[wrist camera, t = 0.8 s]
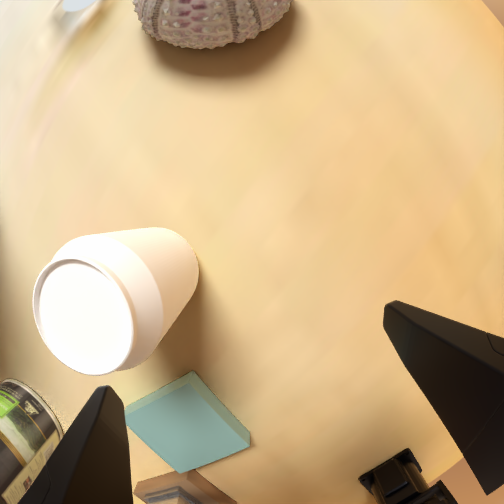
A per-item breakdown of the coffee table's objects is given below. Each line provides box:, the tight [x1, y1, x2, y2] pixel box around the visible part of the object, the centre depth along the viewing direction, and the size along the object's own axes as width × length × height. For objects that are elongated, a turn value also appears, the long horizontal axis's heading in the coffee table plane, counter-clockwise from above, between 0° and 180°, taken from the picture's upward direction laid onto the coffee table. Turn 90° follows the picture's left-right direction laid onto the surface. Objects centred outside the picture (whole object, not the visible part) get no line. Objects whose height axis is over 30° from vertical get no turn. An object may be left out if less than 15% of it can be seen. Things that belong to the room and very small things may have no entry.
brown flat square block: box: [133, 469, 237, 504], centre depth 24 cm, size 8×8×2 cm
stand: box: [124, 371, 250, 474], centre depth 22 cm, size 8×8×2 cm
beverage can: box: [33, 228, 199, 376], centre depth 16 cm, size 6×6×12 cm
